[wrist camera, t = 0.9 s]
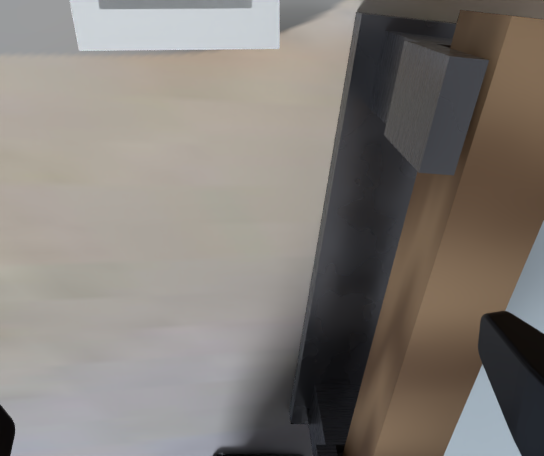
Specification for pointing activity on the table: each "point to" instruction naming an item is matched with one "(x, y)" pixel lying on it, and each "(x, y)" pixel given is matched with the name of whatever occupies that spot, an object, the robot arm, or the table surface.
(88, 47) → the touchpad
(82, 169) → the table surface
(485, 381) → the blue-grey mat
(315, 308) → the dark grey u-shaped stand
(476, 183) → the walnut bar
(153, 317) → the table surface
